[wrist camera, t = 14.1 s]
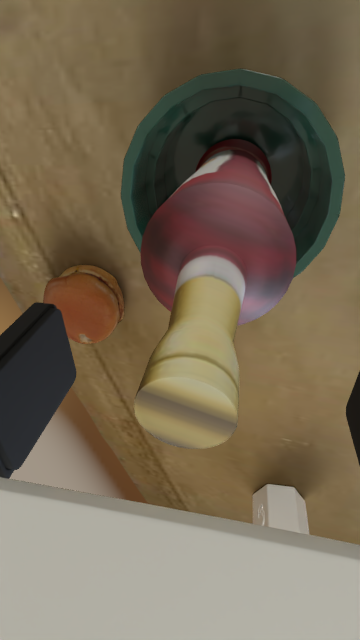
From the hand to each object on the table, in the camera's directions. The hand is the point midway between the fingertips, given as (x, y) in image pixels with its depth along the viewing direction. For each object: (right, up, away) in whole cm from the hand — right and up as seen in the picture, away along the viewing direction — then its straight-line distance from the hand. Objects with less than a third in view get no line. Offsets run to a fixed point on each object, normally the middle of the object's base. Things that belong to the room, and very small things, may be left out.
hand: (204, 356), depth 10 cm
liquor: (+4, +14, +21) cm, 26 cm away
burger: (-12, +4, +32) cm, 35 cm away
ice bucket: (+4, +15, +22) cm, 26 cm away
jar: (+17, -30, +50) cm, 61 cm away
